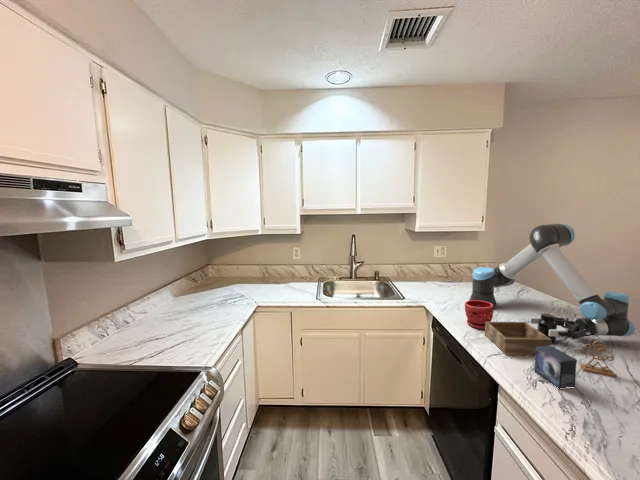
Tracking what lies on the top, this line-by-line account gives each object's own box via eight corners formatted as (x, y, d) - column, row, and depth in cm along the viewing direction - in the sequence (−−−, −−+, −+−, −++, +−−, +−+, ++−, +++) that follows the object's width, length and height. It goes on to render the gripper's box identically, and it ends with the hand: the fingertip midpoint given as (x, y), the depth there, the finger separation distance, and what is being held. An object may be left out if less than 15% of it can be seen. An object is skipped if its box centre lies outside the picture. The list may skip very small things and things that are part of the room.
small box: (532, 372, 107) (534, 345, 106) (548, 370, 107) (550, 344, 106) (558, 390, 96) (560, 361, 95) (576, 388, 97) (578, 359, 96)
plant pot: (491, 322, 152) (491, 300, 151) (494, 332, 140) (495, 309, 139) (463, 319, 158) (464, 298, 156) (464, 328, 146) (465, 306, 145)
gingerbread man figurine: (611, 372, 105) (614, 341, 104) (616, 377, 102) (618, 346, 100) (580, 366, 110) (582, 336, 108) (583, 371, 106) (585, 340, 105)
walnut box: (484, 335, 137) (485, 321, 137) (524, 336, 135) (525, 321, 135) (504, 354, 120) (505, 339, 119) (550, 355, 118) (551, 339, 117)
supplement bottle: (559, 344, 127) (561, 318, 125) (542, 343, 128) (543, 317, 127) (550, 337, 133) (551, 312, 132) (533, 336, 135) (535, 312, 133)
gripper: (614, 348, 116) (558, 347, 118) (568, 323, 140) (522, 323, 143) (616, 330, 115) (559, 330, 118) (569, 308, 140) (523, 308, 142)
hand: (539, 326), depth 130 cm, fingers open, 13 cm apart
